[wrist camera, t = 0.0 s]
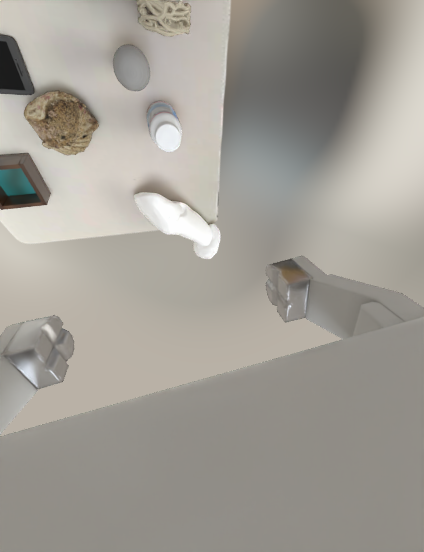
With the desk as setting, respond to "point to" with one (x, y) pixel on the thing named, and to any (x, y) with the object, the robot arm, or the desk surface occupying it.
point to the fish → (179, 222)
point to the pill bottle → (164, 126)
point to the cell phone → (13, 69)
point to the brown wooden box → (21, 183)
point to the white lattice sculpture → (164, 11)
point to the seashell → (61, 122)
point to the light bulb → (131, 67)
